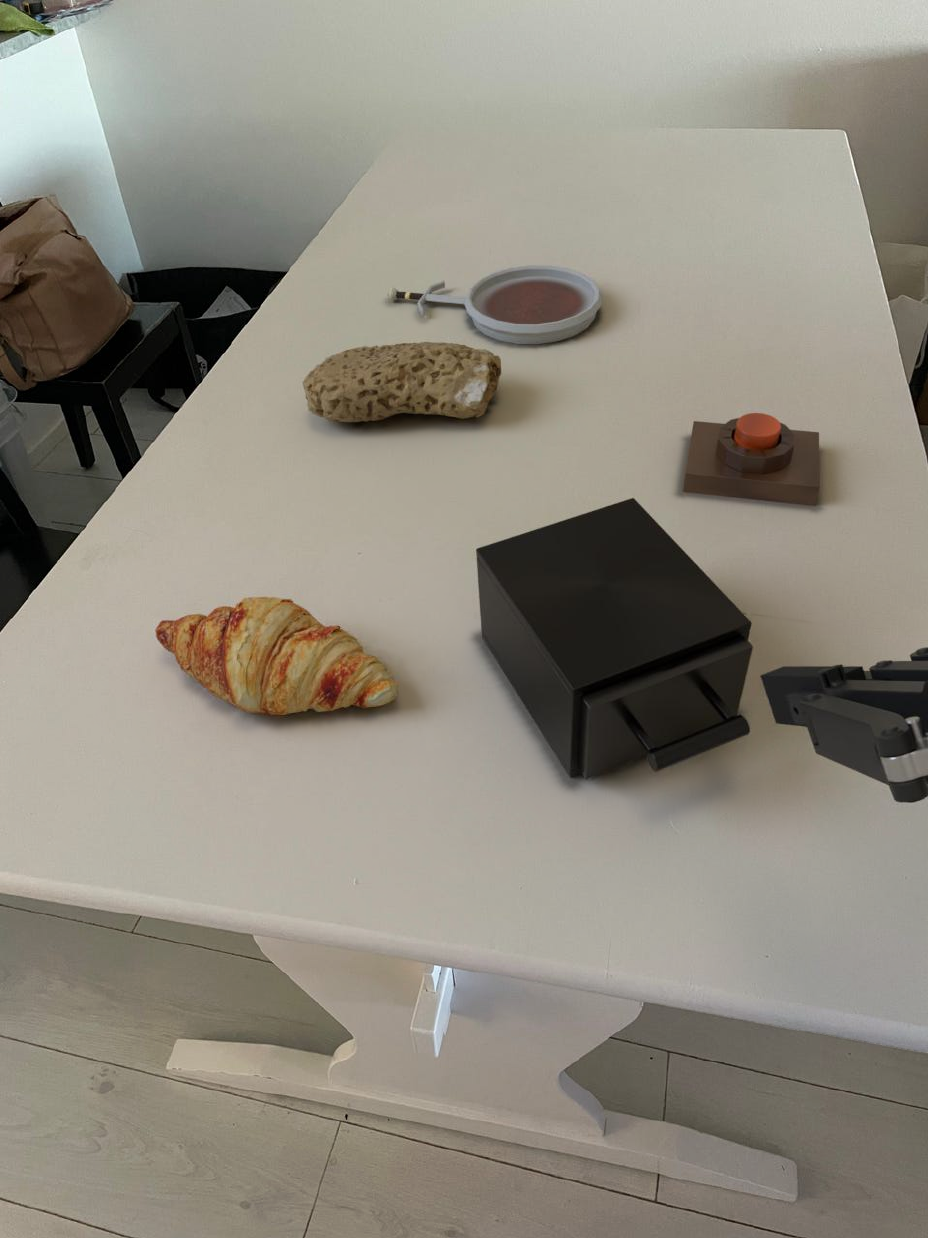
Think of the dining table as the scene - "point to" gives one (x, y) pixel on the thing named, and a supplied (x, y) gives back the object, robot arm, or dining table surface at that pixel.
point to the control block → (753, 465)
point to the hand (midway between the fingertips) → (780, 694)
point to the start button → (757, 431)
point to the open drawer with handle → (666, 710)
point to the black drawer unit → (593, 611)
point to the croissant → (276, 659)
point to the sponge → (403, 382)
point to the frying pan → (524, 303)
